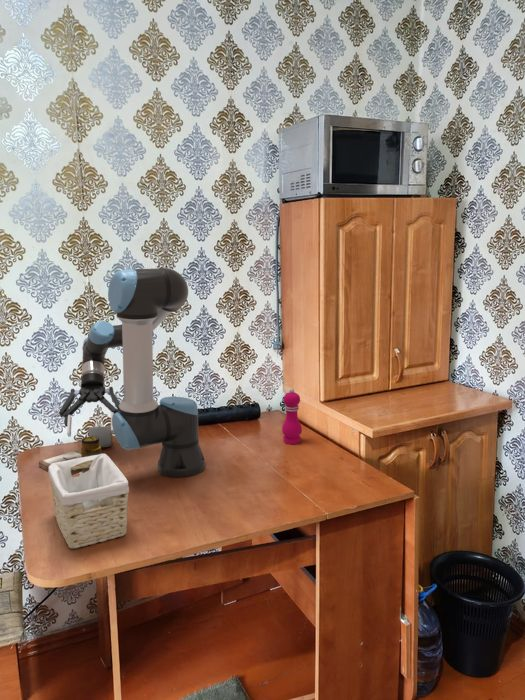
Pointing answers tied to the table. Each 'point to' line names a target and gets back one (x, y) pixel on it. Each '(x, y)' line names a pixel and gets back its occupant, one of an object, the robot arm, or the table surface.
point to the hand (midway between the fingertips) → (90, 433)
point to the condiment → (90, 448)
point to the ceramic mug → (102, 435)
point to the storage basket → (89, 500)
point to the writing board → (60, 458)
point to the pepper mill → (291, 418)
